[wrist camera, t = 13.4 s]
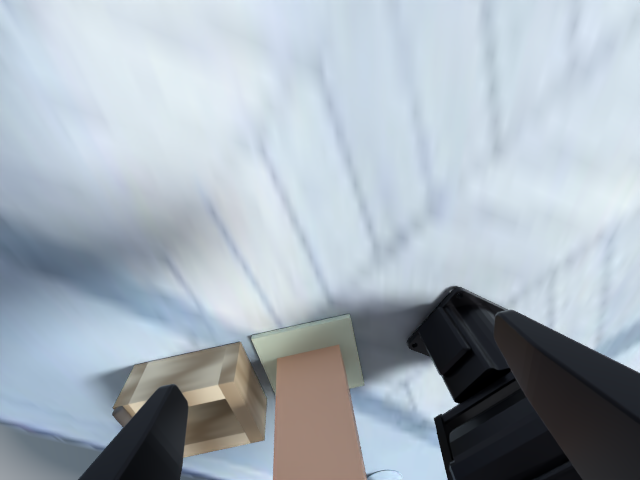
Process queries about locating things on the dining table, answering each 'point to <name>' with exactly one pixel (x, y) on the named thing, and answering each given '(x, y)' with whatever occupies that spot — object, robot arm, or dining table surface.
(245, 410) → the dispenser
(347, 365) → the pad
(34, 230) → the dining table surface
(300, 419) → the pinkish tan rectangular block
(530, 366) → the robot arm
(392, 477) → the cup with straw
